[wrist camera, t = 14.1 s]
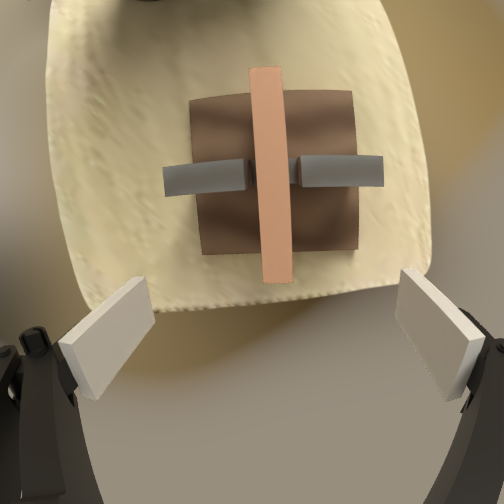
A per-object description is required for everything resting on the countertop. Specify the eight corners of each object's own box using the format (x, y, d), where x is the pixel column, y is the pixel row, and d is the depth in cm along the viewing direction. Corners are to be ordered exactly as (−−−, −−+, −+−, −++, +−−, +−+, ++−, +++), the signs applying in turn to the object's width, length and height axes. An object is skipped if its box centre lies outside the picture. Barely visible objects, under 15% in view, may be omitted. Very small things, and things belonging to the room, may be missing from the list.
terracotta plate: (260, 100, 31) (248, 68, 19) (281, 99, 31) (280, 66, 19) (269, 245, 36) (263, 283, 24) (289, 245, 36) (292, 282, 24)
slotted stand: (192, 103, 33) (148, 74, 20) (349, 93, 31) (382, 58, 18) (205, 251, 39) (168, 293, 26) (355, 246, 36) (389, 286, 23)
